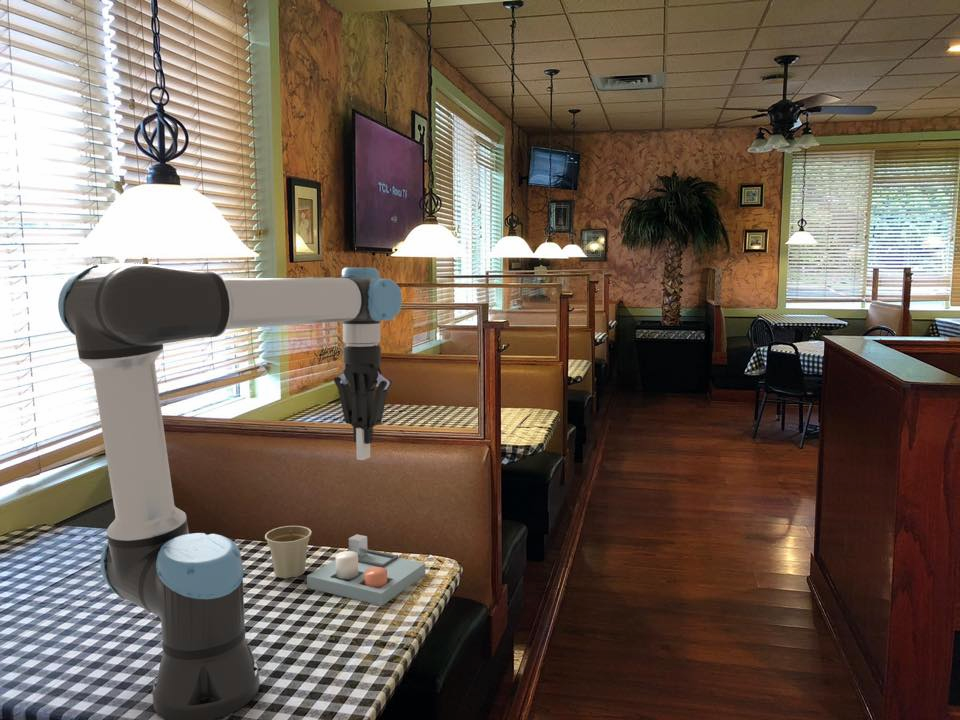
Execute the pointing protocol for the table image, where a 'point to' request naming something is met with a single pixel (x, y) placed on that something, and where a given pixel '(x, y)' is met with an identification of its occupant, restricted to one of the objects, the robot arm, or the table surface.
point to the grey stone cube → (358, 545)
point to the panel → (398, 578)
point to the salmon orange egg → (376, 577)
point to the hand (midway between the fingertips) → (363, 458)
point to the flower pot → (288, 550)
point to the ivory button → (346, 564)
